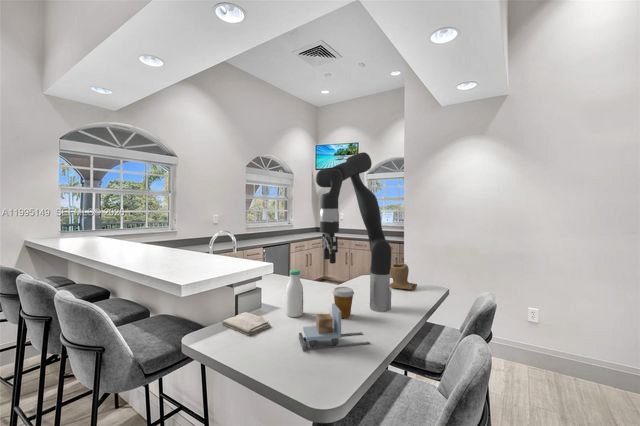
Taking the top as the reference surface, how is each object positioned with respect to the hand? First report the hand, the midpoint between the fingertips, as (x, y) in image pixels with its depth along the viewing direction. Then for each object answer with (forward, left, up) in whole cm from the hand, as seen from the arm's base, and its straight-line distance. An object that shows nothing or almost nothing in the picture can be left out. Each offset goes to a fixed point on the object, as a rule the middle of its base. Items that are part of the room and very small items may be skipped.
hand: (329, 261), depth 118 cm
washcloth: (+32, -11, -28) cm, 44 cm away
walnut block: (+4, +10, -23) cm, 26 cm away
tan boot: (-57, -48, -28) cm, 79 cm away
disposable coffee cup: (-10, -13, -28) cm, 32 cm away
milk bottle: (+11, -19, -28) cm, 35 cm away
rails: (0, +10, -27) cm, 29 cm away
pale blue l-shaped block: (+5, +10, -27) cm, 30 cm away
